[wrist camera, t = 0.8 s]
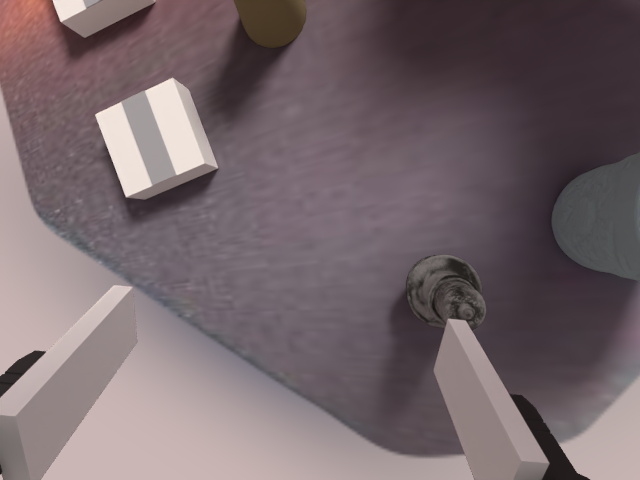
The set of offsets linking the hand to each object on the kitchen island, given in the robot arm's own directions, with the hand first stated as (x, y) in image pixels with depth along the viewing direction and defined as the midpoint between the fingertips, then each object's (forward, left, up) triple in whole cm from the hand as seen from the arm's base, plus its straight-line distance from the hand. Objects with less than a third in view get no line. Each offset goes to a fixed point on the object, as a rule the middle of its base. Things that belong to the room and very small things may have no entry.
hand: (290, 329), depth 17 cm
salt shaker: (-4, +8, -20) cm, 22 cm away
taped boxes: (-8, -27, -20) cm, 34 cm away
